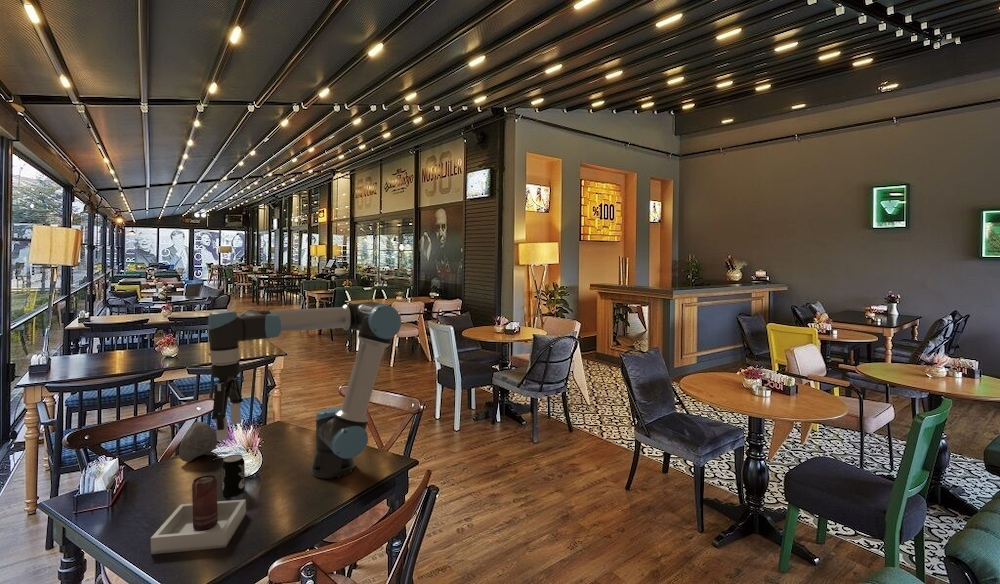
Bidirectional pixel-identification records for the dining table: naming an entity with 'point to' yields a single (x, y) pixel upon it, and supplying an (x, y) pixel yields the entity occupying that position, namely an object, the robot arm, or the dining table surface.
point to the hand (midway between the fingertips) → (229, 431)
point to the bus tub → (184, 537)
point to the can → (204, 502)
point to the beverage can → (233, 475)
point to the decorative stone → (197, 441)
